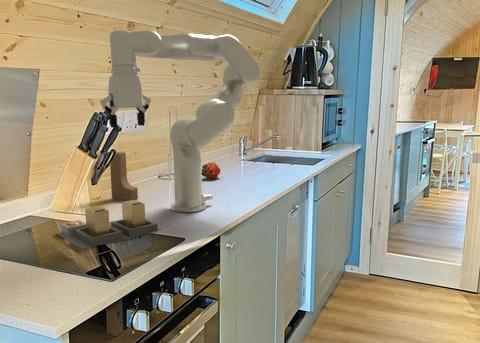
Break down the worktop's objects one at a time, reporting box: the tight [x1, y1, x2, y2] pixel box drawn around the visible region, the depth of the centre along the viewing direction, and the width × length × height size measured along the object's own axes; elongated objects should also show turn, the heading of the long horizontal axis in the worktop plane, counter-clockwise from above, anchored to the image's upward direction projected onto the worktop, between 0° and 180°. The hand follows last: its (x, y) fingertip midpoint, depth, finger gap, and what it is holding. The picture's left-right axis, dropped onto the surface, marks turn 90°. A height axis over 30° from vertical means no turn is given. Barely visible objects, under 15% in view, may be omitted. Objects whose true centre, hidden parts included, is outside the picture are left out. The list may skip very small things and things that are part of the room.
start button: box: [69, 221, 79, 226], centre depth 130 cm, size 3×3×2 cm
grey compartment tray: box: [56, 218, 163, 250], centre depth 131 cm, size 24×18×4 cm
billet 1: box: [84, 205, 110, 237], centre depth 125 cm, size 4×6×8 cm, turn 42°
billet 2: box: [121, 199, 146, 229], centre depth 132 cm, size 4×6×8 cm, turn 42°
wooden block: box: [109, 151, 139, 201], centre depth 175 cm, size 9×4×18 cm, turn 70°
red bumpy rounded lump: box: [201, 162, 221, 180], centre depth 215 cm, size 8×8×12 cm
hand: (127, 126), depth 146 cm, fingers open, 9 cm apart
